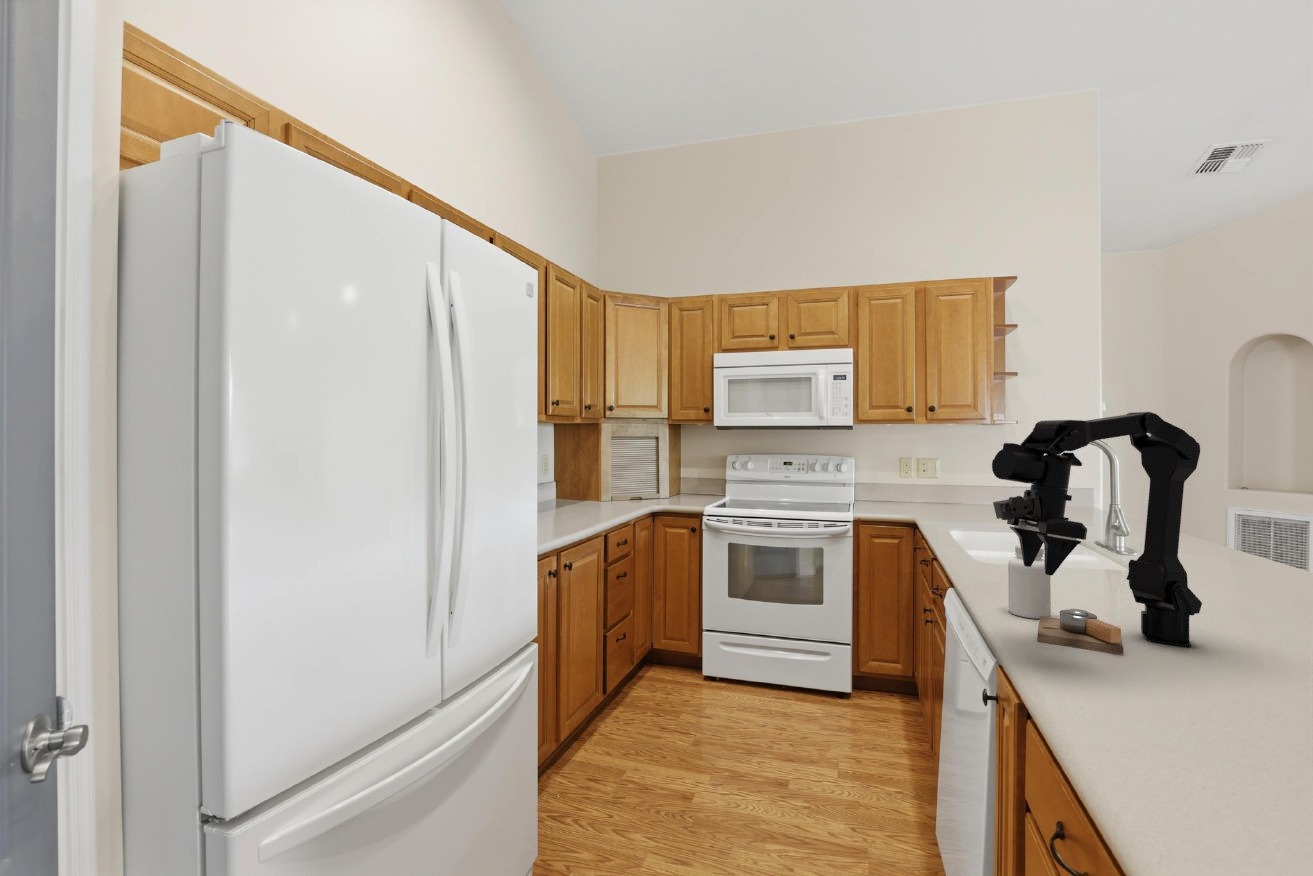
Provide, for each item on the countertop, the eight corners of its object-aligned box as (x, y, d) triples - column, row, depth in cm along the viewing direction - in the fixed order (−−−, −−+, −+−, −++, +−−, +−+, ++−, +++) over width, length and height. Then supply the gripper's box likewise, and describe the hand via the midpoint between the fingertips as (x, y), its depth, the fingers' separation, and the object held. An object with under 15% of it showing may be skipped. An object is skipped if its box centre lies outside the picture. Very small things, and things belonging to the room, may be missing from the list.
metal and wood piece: (1052, 624, 119) (1052, 607, 119) (1080, 622, 119) (1080, 606, 119) (1100, 644, 107) (1100, 626, 107) (1131, 643, 108) (1130, 624, 108)
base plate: (1117, 634, 118) (1117, 625, 118) (1123, 654, 107) (1123, 644, 107) (1039, 622, 125) (1039, 614, 125) (1037, 641, 114) (1037, 631, 114)
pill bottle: (1050, 612, 132) (1049, 545, 132) (1051, 622, 125) (1050, 551, 125) (1008, 606, 136) (1008, 542, 136) (1007, 616, 130) (1007, 548, 129)
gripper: (984, 479, 120) (974, 555, 120) (1022, 481, 102) (1009, 571, 102) (1045, 488, 118) (1034, 565, 118) (1094, 491, 100) (1081, 583, 99)
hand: (1037, 570), depth 109 cm, fingers open, 9 cm apart
